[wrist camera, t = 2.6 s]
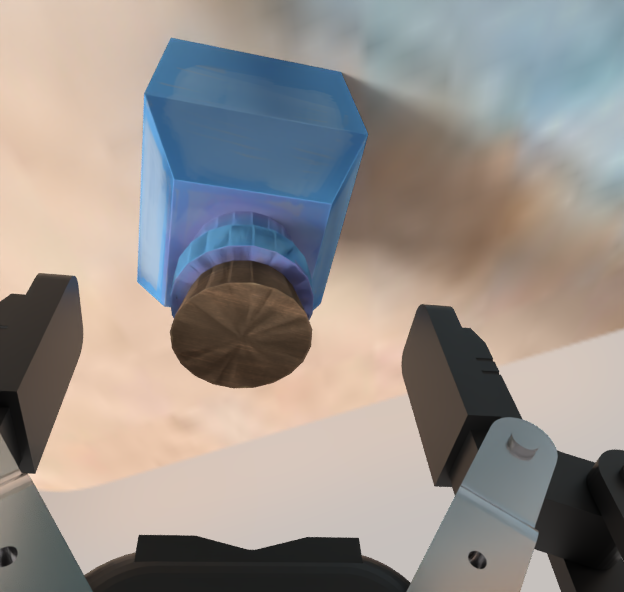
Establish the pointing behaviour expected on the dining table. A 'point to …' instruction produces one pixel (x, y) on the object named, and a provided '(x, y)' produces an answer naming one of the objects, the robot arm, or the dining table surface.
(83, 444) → the dining table surface
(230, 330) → the perfume bottle
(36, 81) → the dining table surface
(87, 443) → the dining table surface
